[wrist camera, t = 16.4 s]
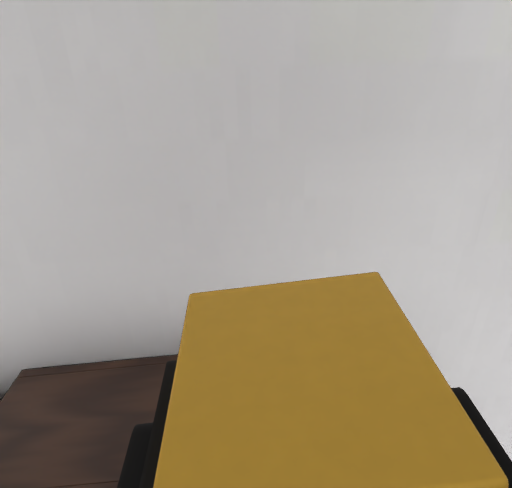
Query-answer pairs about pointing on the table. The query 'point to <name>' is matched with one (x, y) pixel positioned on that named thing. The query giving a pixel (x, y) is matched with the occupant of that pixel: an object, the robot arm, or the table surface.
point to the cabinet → (75, 422)
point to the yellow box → (314, 395)
